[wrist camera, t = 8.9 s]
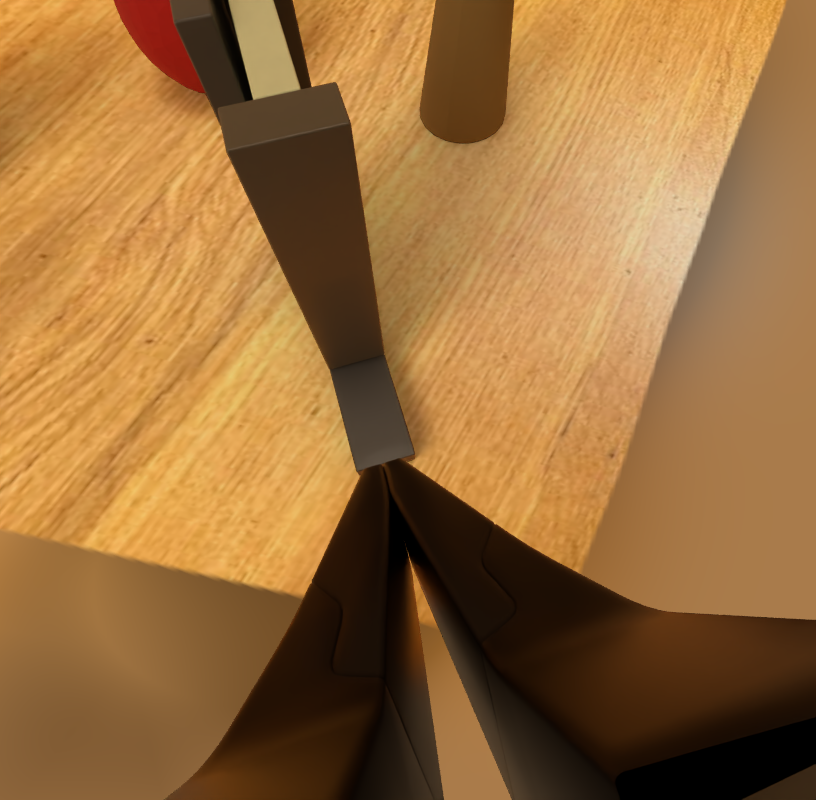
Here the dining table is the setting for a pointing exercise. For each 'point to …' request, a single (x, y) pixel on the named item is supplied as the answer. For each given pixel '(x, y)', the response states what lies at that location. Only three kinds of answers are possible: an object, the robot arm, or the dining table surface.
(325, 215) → the door
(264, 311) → the dining table surface
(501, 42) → the wooden game pawn
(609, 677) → the robot arm
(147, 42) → the apple
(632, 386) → the dining table surface
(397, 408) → the wooden frame stand
